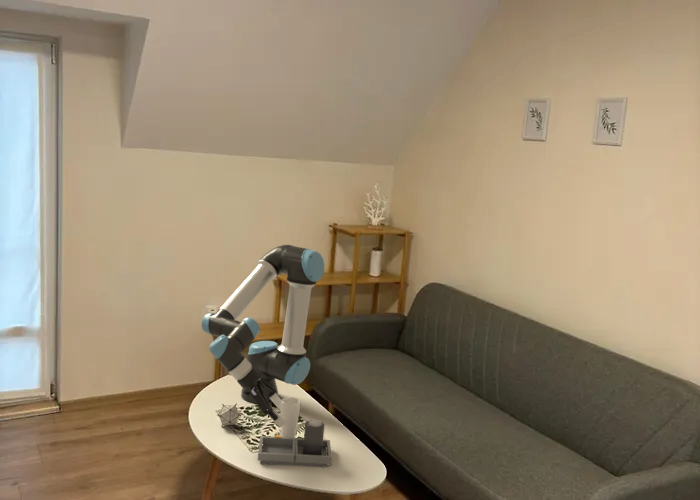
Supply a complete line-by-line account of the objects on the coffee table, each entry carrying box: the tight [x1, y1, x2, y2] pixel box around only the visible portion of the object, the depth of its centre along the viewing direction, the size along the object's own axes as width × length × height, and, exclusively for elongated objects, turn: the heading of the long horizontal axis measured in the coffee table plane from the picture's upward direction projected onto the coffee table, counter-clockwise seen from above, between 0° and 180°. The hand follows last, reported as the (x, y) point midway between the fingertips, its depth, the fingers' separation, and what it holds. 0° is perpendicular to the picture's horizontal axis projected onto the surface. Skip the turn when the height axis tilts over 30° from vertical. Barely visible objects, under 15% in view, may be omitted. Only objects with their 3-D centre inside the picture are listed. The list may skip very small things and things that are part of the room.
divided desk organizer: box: [257, 418, 333, 468], centre depth 222 cm, size 13×24×13 cm, turn 95°
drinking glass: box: [279, 396, 301, 438], centre depth 233 cm, size 7×7×15 cm
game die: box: [216, 403, 242, 428], centre depth 240 cm, size 9×8×10 cm
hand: (283, 416), depth 232 cm, fingers open, 13 cm apart
